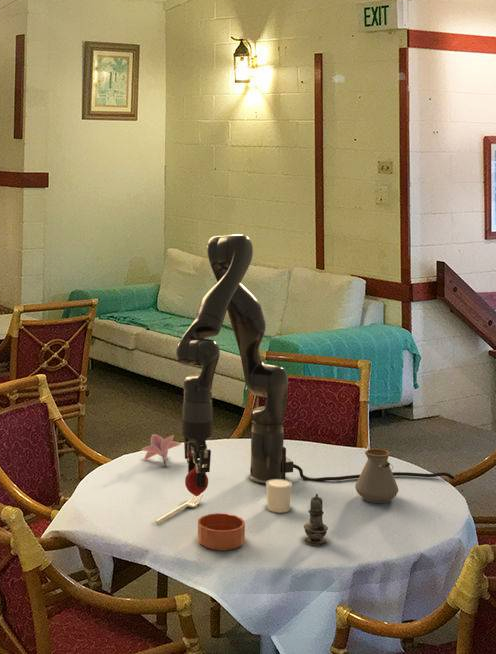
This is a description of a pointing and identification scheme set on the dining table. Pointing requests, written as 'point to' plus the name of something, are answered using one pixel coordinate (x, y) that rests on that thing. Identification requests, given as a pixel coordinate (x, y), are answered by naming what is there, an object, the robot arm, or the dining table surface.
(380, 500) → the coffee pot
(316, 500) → the pawn-shaped pepper mill
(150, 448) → the lily
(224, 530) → the bowl
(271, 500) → the cream cylinder
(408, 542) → the dining table surface
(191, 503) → the fork
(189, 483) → the onion
